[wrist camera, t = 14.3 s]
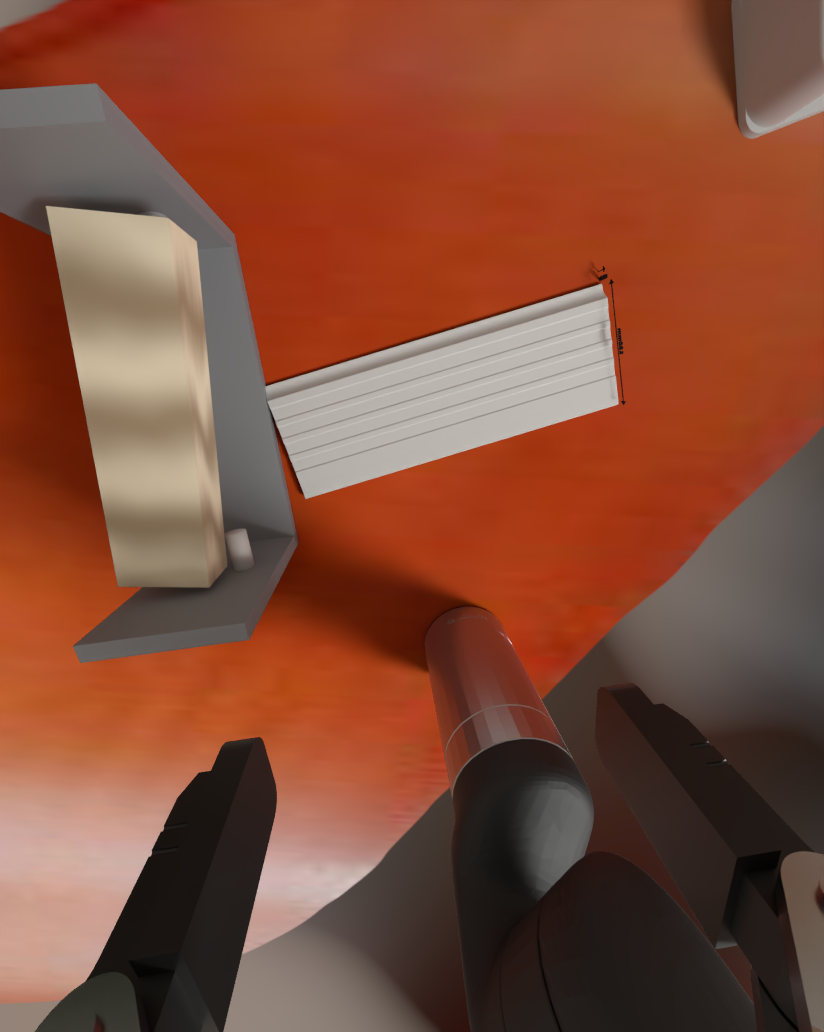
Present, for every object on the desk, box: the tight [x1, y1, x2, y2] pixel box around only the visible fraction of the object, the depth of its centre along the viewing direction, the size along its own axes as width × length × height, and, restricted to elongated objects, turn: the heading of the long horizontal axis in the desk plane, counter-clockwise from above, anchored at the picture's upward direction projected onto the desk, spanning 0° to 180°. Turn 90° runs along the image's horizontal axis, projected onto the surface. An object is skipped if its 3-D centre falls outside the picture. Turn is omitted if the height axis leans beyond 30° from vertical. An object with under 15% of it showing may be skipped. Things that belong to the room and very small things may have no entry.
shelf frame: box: [0, 84, 299, 663], centre depth 27 cm, size 26×10×16 cm, turn 6°
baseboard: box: [265, 266, 626, 499], centre depth 35 cm, size 31×3×12 cm
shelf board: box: [46, 206, 227, 588], centre depth 26 cm, size 22×6×4 cm, turn 177°
